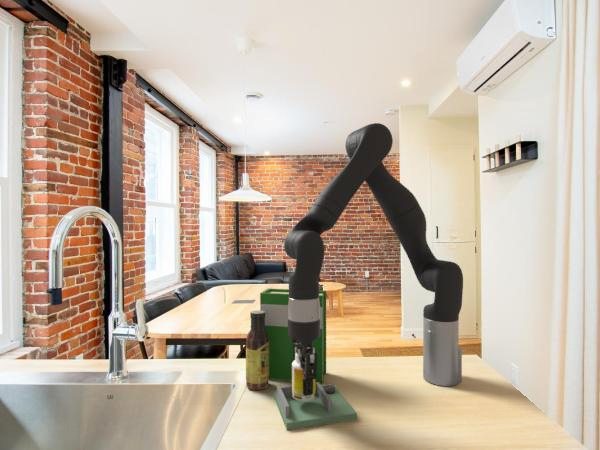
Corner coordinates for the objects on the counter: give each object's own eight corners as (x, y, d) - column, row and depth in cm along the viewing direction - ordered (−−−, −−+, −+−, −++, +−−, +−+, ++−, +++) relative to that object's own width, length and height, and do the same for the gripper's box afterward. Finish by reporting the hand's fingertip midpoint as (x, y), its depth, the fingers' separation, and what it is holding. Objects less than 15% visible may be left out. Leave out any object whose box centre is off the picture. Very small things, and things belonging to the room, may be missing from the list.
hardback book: (326, 372, 108) (326, 290, 107) (322, 383, 101) (322, 295, 100) (268, 367, 111) (268, 288, 111) (260, 378, 104) (260, 293, 104)
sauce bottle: (265, 392, 96) (265, 315, 95) (242, 390, 97) (242, 314, 96) (272, 381, 102) (272, 309, 102) (250, 379, 103) (250, 308, 103)
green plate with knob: (333, 389, 97) (333, 374, 97) (356, 419, 82) (356, 401, 82) (273, 397, 93) (273, 381, 93) (286, 430, 78) (286, 411, 78)
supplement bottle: (319, 400, 84) (319, 356, 84) (296, 404, 82) (296, 359, 82) (310, 389, 90) (310, 347, 89) (288, 393, 88) (288, 350, 87)
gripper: (329, 323, 80) (329, 401, 80) (310, 308, 94) (311, 374, 94) (295, 326, 78) (296, 405, 78) (281, 310, 92) (282, 377, 92)
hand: (304, 388), depth 86 cm, fingers closed on supplement bottle, 5 cm apart
